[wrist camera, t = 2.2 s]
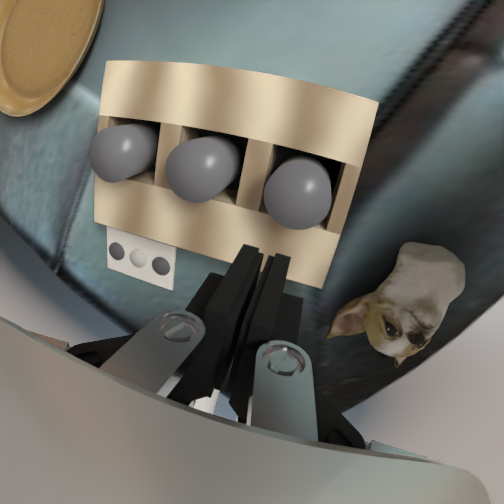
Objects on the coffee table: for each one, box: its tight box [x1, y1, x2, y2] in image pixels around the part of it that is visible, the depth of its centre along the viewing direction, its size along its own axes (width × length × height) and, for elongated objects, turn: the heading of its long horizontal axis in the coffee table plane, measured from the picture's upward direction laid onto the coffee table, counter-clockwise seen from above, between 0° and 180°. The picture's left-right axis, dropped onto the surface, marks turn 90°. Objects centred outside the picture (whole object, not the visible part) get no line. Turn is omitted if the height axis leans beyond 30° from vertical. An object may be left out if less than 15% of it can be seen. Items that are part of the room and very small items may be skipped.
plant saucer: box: [0, 0, 105, 117], centre depth 24 cm, size 24×24×3 cm
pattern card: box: [107, 226, 177, 290], centre depth 35 cm, size 9×6×1 cm, turn 79°
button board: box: [94, 61, 379, 289], centre depth 26 cm, size 23×16×4 cm
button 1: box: [89, 123, 159, 183], centre depth 25 cm, size 5×5×5 cm
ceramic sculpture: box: [326, 242, 465, 367], centre depth 26 cm, size 11×9×15 cm
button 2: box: [264, 155, 332, 230], centre depth 23 cm, size 5×5×5 cm
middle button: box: [165, 135, 242, 203], centre depth 24 cm, size 5×5×5 cm
